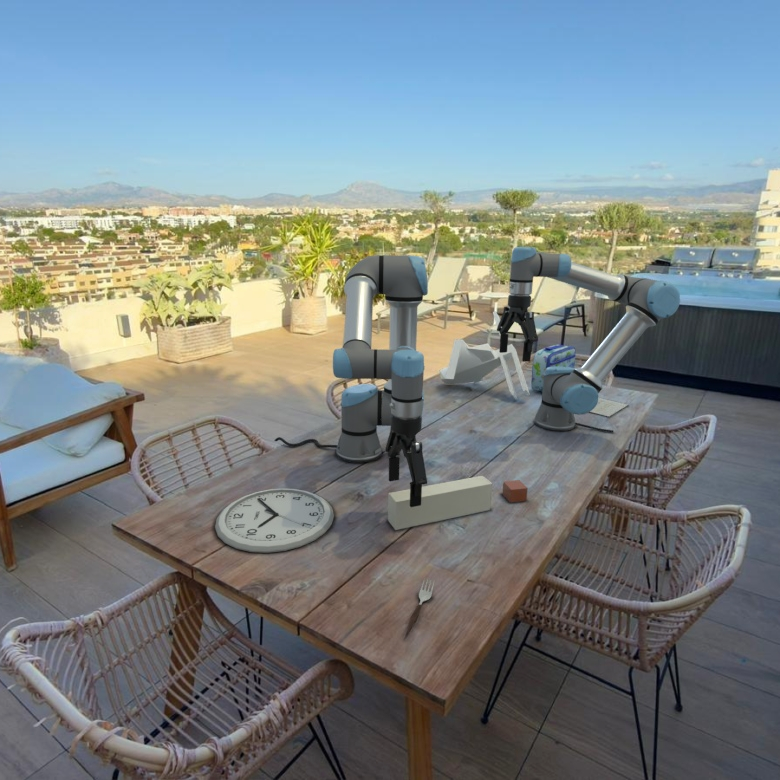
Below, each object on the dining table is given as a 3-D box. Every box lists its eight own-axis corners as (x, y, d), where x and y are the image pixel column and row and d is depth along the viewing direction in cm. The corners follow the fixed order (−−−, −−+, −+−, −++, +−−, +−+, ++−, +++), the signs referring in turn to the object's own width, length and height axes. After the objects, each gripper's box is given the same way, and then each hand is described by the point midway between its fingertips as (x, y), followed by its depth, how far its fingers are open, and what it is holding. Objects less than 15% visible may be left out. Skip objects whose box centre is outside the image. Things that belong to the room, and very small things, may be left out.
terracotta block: (518, 492, 152) (519, 479, 150) (526, 500, 147) (527, 488, 146) (502, 494, 151) (503, 481, 149) (509, 502, 146) (511, 489, 145)
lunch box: (547, 397, 237) (552, 352, 231) (526, 391, 245) (531, 348, 238) (574, 386, 255) (580, 344, 249) (554, 381, 262) (559, 340, 256)
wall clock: (332, 544, 122) (200, 548, 120) (332, 550, 123) (201, 555, 120) (334, 484, 151) (228, 486, 148) (334, 489, 151) (228, 491, 149)
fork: (398, 636, 97) (399, 628, 97) (423, 584, 111) (423, 576, 111) (412, 640, 96) (412, 631, 96) (435, 587, 111) (435, 579, 110)
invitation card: (608, 416, 214) (573, 407, 224) (608, 416, 214) (573, 408, 224) (628, 404, 229) (594, 396, 238) (628, 405, 229) (594, 397, 238)
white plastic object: (461, 429, 252) (437, 405, 227) (444, 352, 274) (420, 323, 250) (535, 404, 240) (518, 377, 215) (510, 326, 262) (492, 293, 237)
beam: (480, 501, 146) (482, 475, 144) (490, 509, 142) (492, 483, 139) (387, 520, 136) (388, 492, 134) (395, 530, 132) (396, 502, 129)
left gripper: (373, 399, 136) (373, 472, 142) (413, 436, 114) (410, 520, 121) (400, 396, 138) (398, 468, 145) (444, 431, 117) (439, 514, 123)
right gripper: (489, 290, 184) (485, 349, 191) (533, 300, 162) (527, 366, 169) (507, 290, 187) (503, 348, 193) (553, 299, 165) (546, 364, 171)
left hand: (404, 492), depth 133 cm, fingers open, 13 cm apart
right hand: (514, 356), depth 181 cm, fingers open, 13 cm apart
